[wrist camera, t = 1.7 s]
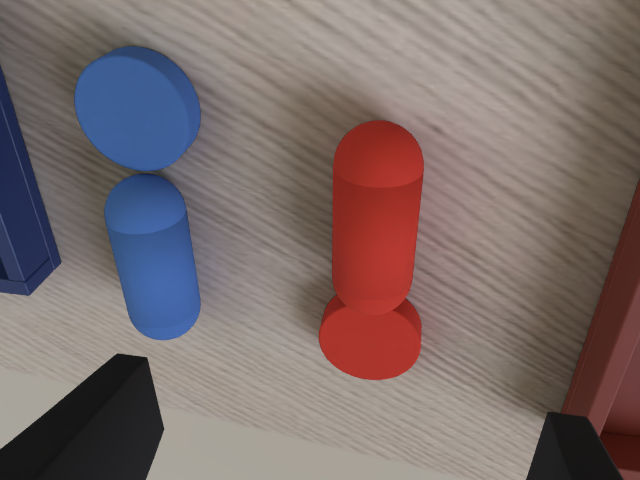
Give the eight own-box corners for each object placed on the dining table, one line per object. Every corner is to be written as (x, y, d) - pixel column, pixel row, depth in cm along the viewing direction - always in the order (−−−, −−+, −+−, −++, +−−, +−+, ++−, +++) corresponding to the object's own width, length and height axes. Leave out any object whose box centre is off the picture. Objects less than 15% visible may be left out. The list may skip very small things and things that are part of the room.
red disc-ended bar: (417, 365, 20) (414, 419, 19) (323, 353, 21) (310, 404, 19) (448, 110, 15) (448, 147, 13) (323, 103, 16) (305, 137, 14)
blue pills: (79, 43, 16) (27, 68, 14) (193, 48, 16) (157, 74, 14) (139, 303, 21) (108, 348, 19) (227, 314, 21) (204, 361, 19)
